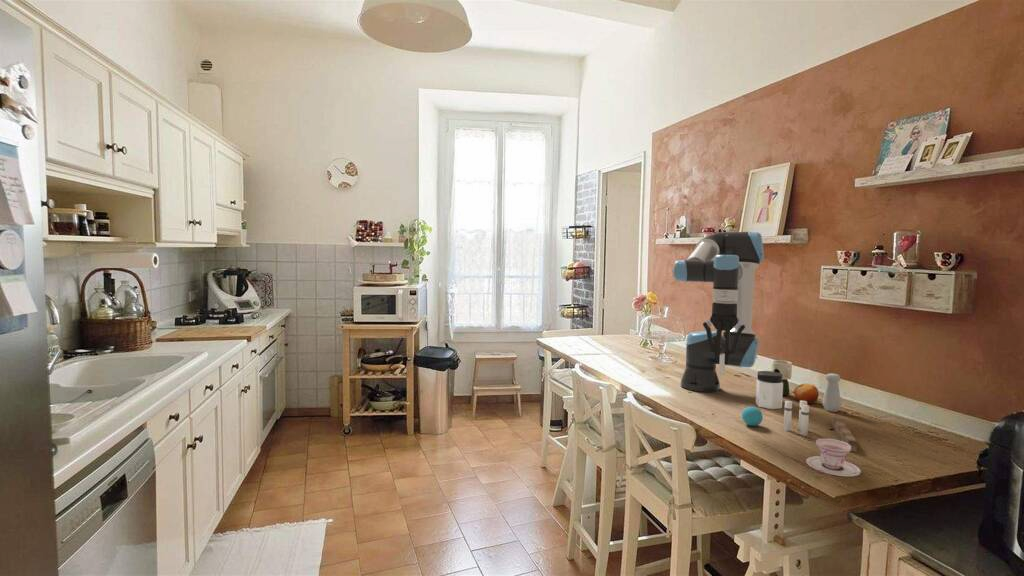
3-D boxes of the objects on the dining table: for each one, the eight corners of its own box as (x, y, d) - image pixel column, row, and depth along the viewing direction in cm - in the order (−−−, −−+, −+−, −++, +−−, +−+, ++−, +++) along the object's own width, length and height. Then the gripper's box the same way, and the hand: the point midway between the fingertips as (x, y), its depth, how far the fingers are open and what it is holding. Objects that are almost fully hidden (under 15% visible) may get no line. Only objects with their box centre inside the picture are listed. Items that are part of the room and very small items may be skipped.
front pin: (782, 428, 158) (783, 400, 158) (788, 428, 158) (789, 400, 158) (785, 431, 156) (787, 402, 155) (792, 431, 156) (793, 402, 156)
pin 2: (798, 433, 154) (799, 404, 154) (805, 433, 154) (806, 404, 154) (802, 435, 152) (804, 406, 151) (809, 435, 152) (811, 406, 152)
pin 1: (796, 428, 159) (798, 400, 158) (803, 428, 159) (804, 400, 158) (800, 430, 157) (802, 402, 156) (807, 430, 157) (808, 402, 156)
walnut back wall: (856, 452, 140) (857, 441, 140) (848, 450, 141) (848, 440, 140) (838, 425, 162) (839, 416, 162) (831, 424, 163) (832, 415, 162)
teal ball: (738, 422, 164) (738, 404, 164) (756, 422, 164) (756, 404, 164) (747, 428, 158) (748, 409, 158) (766, 428, 158) (766, 409, 158)
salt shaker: (843, 410, 178) (845, 374, 177) (838, 413, 174) (840, 376, 173) (824, 406, 182) (826, 371, 181) (819, 409, 178) (821, 373, 177)
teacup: (817, 454, 138) (818, 432, 138) (868, 470, 129) (869, 446, 128) (797, 465, 131) (798, 442, 131) (849, 482, 122) (851, 457, 121)
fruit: (827, 402, 183) (816, 383, 183) (806, 411, 184) (795, 392, 185) (818, 396, 191) (808, 377, 191) (799, 405, 192) (788, 387, 193)
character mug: (763, 390, 203) (765, 358, 202) (781, 390, 204) (782, 359, 203) (779, 398, 192) (781, 364, 191) (797, 398, 193) (799, 364, 192)
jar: (751, 405, 183) (753, 373, 182) (758, 401, 189) (760, 369, 188) (778, 411, 176) (780, 377, 176) (785, 406, 182) (786, 373, 182)
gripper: (701, 302, 163) (699, 373, 164) (746, 304, 157) (742, 378, 158) (705, 300, 169) (702, 369, 171) (747, 302, 163) (744, 374, 165)
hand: (721, 373), depth 164 cm, fingers closed
